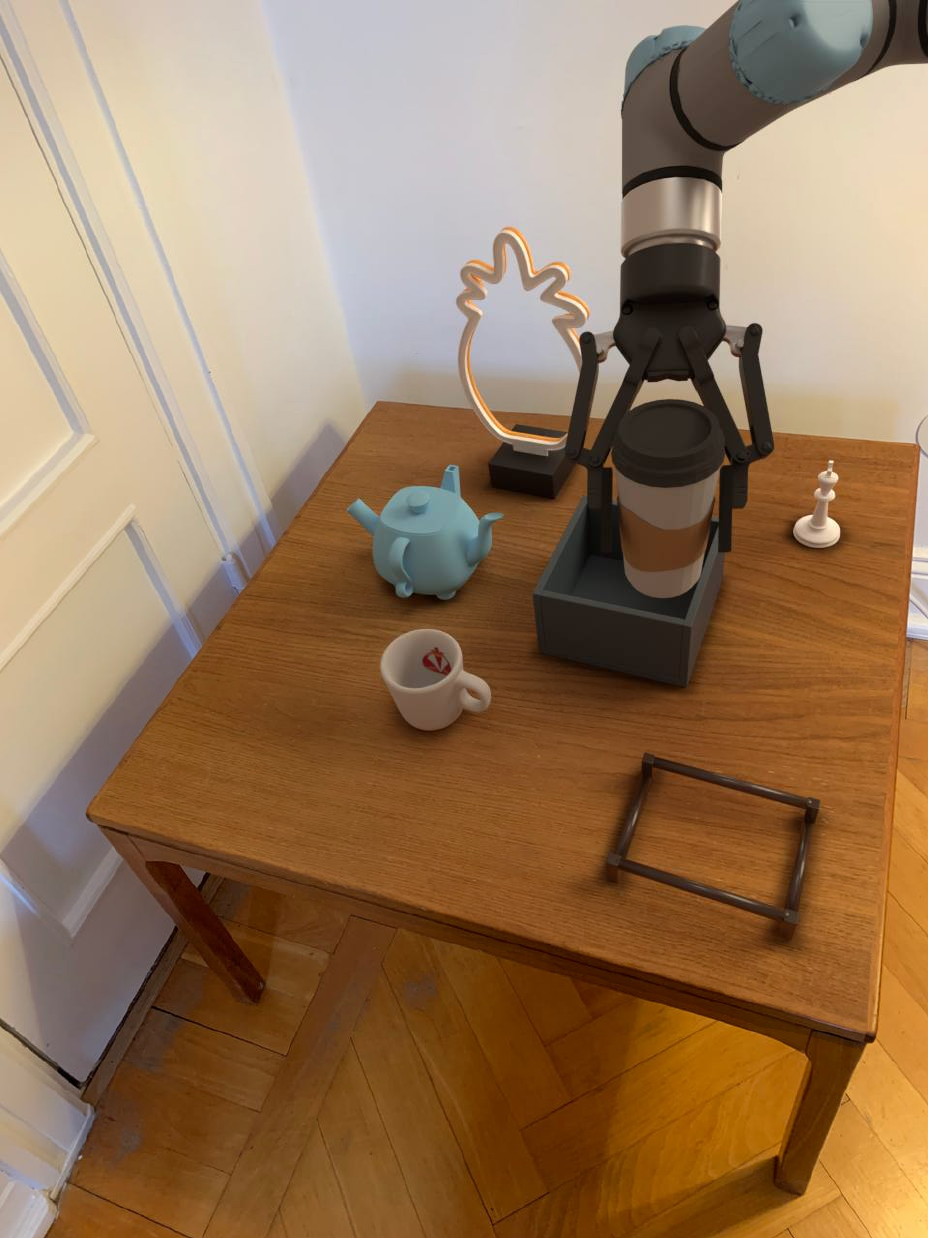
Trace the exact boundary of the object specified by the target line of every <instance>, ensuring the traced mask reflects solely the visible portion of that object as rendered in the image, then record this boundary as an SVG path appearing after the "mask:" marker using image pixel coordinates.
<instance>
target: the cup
mask: <svg viewBox="0 0 928 1238" xmlns="http://www.w3.org/2000/svg"><path fill="white" fill-rule="evenodd" d="M463 659H464V657H463V652H462V648H461V646H460V645H459V643H458V641H457V640H456V639H455V638H454V637H453V636H451V634H449V633H447V632H444V631H441V630H439V629H433V628H421V629H419V628H418V629H414V630H410V631H408V632H406V633H403V634H401V635H399V636H398V637H396V638H395V639H394V640H392V641H391V643H389V644H388V646H387V647H386V648H385V649H384V651H383V653H382V655H381V658H380V662H379V670H380V671H379V672H380V674H381V677H382V680H383V682H384V683H385V686H386V687H387V690H388V692H389V694H390V695H391V697H392V700H393V701H394V703H395V705H396V708H397V709H398V711H399V712H400V714H401V716H402V718H403V719H404V720H405V722H407V723H408V724H409V725H410V726H412V727H413V728H416V729H419V730H421V731H422V730H423V731H429V732H430V731H437V730H441V729H445V728H446V727H448V726H450V725H452V724H453V723H454V722H455V721H457V719H458V718H459V716H460V715H461V714H462V712H463V710H467V711H470V712H474V713H482V712H485V711H486V710H487V709H488V707H489V705H490V704H491V701H492V691H491V689H490V686H489V685H488V683H487V682H486V681H485V680H484V679H482V678H481V677H479V676H477V675H474V674H472V673H469V672H467V671H465V670H464V660H463ZM467 689H468V690H471V691H473V692H475V693H476V694H477V696H479V698H480V699H477V698H475V697H473V696H471V694H470V693H469V692H468V690H467Z"/></svg>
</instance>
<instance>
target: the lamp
mask: <svg viewBox="0 0 928 1238" xmlns="http://www.w3.org/2000/svg"><path fill="white" fill-rule="evenodd" d="M507 245H508V246H510V247H511V249H512V250H513V253H514V255H515V258H516V261H517V265H518V270H519V274H520V279H521V280H520V281H521V284H522V287H523V289H524V291H525V292H530V291H532V290H534V289H535V288H537V287H538V286H539V285H541V284H543V283H545V282H546V281H548V280H550V279H552V278H554V280H553V281H551V283H549V285H548V286H547V287H546V288H545V289H544V290H543V291H542V292H541V294H540V295H539V300H540V301H542V302H544V303H546V304H549V305H552V306H554V307H557V308H560V309H561V310H564V311H566V312H567V313H564V314H560V315H554V316H553V317H552V319H551V324H552V326H553V327H554V328H555V330H556V331H557V332H558V334H559V335H560V336H561V338H562V339H563V341H564V343H565V344H566V346H567V348H568V349H569V351H570V353H571V355H572V357H573V359H574V361H575V364H576V366H577V370H578V374H580V371H581V366H582V357H581V350H580V343H579V337H580V335H578V333H577V332H576V330H575V329H579V328H580V329H581V328H582V327H584V325H585V324H586V322H587V321H588V320H589V318H590V316H591V310H590V308H589V306H588V304H587V303H586V302H585V301H584V300H582V299H581V298H580V297H579V296H577V295H574V294H571V293H569V292H565V291H562V289H563V288H564V287H565V285H566V284H567V283H568V282H569V281H570V279H571V269H570V268H569V266H568V265H567V264H566V263H565V262H562V261H553V262H551V263H548V264H547V265H545V266H543V267H542V268H541V269H540V270H536V269H535V266H534V261H533V255H532V252H531V249H530V246H529V244H528V242H527V239H526V237H525V236H524V234H523V233H522V232H521V231H520V230H519V229H517V228H515V227H513V226H505V227H503V228H502V229H500V231H499V232H498V234H497V235H496V236H495V237H494V240H493V243H492V258H493V259H492V260H493V265H491V264H488V263H486V262H484V261H482V260H481V259H471V260H468V261H467V262H466V263H465V264H464V265H463V267H461V269H460V271H459V277H460V280H461V283H462V284H463V285H464V286H465V287H466V288H465V289H463V290H462V292H461V293H459V294H458V295H457V297H456V299H455V304H456V307H457V309H458V310H459V311H460V312H461V313H462V314H463V315H464V316H465V317H466V319H467V322H466V324H465V325H464V327H463V330H462V334H461V337H460V340H459V344H458V345H459V346H458V352H457V365H458V375H459V379H460V383H461V386H462V390H463V392H464V395H465V397H466V399H467V401H468V403H469V404H470V407H471V409H472V410H473V412H474V414H475V415H476V417H477V418H478V419H479V421H480V422H481V424H482V425H483V426H484V428H485V429H486V430H487V431H488V432H489V433H490V434H491V435H492V436H494V437H495V438H496V439H497V440H499V441H501V442H502V443H501V445H500V446H499V448H498V449H497V450H496V451H495V453H494V455H493V456H492V457H491V459H490V460H489V461H488V463H487V467H488V473H489V479H490V486H491V488H495V489H500V490H505V491H510V492H515V493H521V494H526V495H531V496H536V497H542V498H546V499H550V500H551V499H552V500H555V499H556V497H557V496H558V495H559V492H560V491H561V489H562V488H563V486H564V484H565V483H566V481H567V479H568V477H569V476H570V475H571V473H572V471H573V469H574V468H575V466H576V465H577V464H576V463H572V462H570V461H569V460H568V459H567V457H566V455H565V453H564V450H565V445H566V440H567V435H568V431H562V430H557V429H551V428H545V427H544V428H543V427H539V426H532V425H524V424H519V423H515V425H514V426H513V427H512V429H511V430H509V429H507V428H506V427H504V426H503V425H502V424H501V423H500V422H499V421H498V420H497V419H496V417H495V416H494V415H493V414H492V412H491V411H490V409H489V407H488V406H487V404H486V403H485V401H484V400H483V398H482V396H481V394H480V392H479V390H478V388H477V385H476V382H475V379H474V376H473V371H472V366H471V345H472V340H473V337H474V334H475V331H476V328H477V327H478V324H479V322H480V321H481V319H482V318H483V316H484V312H483V311H482V310H481V309H480V308H479V307H478V306H477V305H475V303H474V302H473V301H483V300H485V299H486V298H487V296H488V295H489V294H488V290H487V288H485V283H488V284H489V285H490V284H491V285H497V284H499V283H500V282H501V281H502V280H503V278H504V276H505V273H506V272H507V266H508V258H507V257H508V255H507ZM483 281H484V282H485V283H484V282H483Z"/></svg>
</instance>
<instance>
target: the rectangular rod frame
mask: <svg viewBox="0 0 928 1238" xmlns="http://www.w3.org/2000/svg"><path fill="white" fill-rule="evenodd" d="M656 769H657V770H661V771H664V772H668V773H672V774H674V775H679V776H683V777H686V778H690V779H693V780H696V781H697V780H698V781H701V782H703V783H707V784H712V785H715V786H719V787H722V788H725V789H730V790H733V791H736V792H737V791H738V792H741V793H744V794H748V795H751V796H754V797H759V798H762V799H766V800H769V801H773V802H776V803H780V804H784V805H788V806H791V807H795V808H798V809H802V810H804V812H803V815H802V819H801V825H800V831H799V836H798V841H797V845H796V851H795V856H794V861H793V866H792V870H791V875H790V880H789V885H788V890H787V895H786V900H785V905H784V908H781V907H778V906H774V905H772V904H768V903H766V902H763V901H759V900H756V899H753V898H749V897H746V896H743V895H740V894H737V893H734V892H731V891H728V890H724V889H722V888H719V887H716V886H712V885H710V884H706V883H703V882H701V881H700V882H699V881H697V880H693V879H691V878H688V877H684V876H681V875H678V874H675V873H672V872H669V871H665V870H663V869H659V868H655V867H653V866H650V865H647V864H644V863H641V862H637V861H634V860H631V859H628V858H627V856H628V852H629V850H630V846H631V844H632V840H633V837H634V834H635V831H636V828H637V826H638V822H639V820H640V817H641V813H642V811H643V807H644V804H645V801H646V799H647V795H648V792H649V790H650V787H651V784H652V782H653V780H654V777H655V774H656ZM640 773H641V774H640V778H639V781H638V783H637V787H636V790H635V792H634V796H633V797H632V798H633V799H632V801H631V804H630V807H629V810H628V813H627V815H626V819H625V821H624V824H623V827H622V830H621V833H620V836H619V838H618V841H617V845H616V848H615V850H614V853H613V852H611V851H610V852H609V853H608V856H607V859H606V861H605V862H606V863H605V864H606V865H605V867H606V869H605V871H606V879H607V880H608V881H612V882H615V883H619V881H620V878H621V875H622V872H625V873H628V874H631V875H634V876H637V877H640V878H644V879H647V880H649V881H652V882H656V883H659V884H663V885H666V886H668V887H671V888H674V889H677V890H680V891H684V892H687V893H690V894H693V895H696V896H699V897H702V898H705V899H708V900H711V901H714V902H718V903H720V904H724V905H727V906H729V907H732V908H736V909H738V910H741V911H744V912H748V913H750V914H754V915H757V916H760V917H763V918H765V919H770V920H773V921H774V922H775V921H776V922H778V923H781V924H780V928H779V933H778V937H780V938H784V939H787V940H789V941H793V938H794V936H795V933H796V930H797V927H798V924H799V918H800V912H799V909H800V904H801V903H800V902H801V898H802V893H803V889H804V883H805V877H806V873H807V867H808V862H809V858H810V857H809V856H810V853H811V852H810V851H811V847H812V841H813V836H814V831H815V830H814V829H815V825H816V822H817V820H818V819H817V818H818V816H819V812H820V808H821V803H822V800H821V799H818V798H815V797H811V796H808V797H806V796H803V795H799V794H795V793H792V792H788V791H784V790H780V789H778V788H773V787H769V786H765V785H762V784H758V783H755V782H751V781H748V780H744V779H740V778H736V777H733V776H729V775H726V774H722V773H718V772H714V771H712V770H711V771H710V770H707V769H704V768H700V767H696V766H693V765H688V764H685V763H681V762H678V761H674V760H671V759H667V758H663V757H660V756H656V754H653V753H650V752H646V751H645V752H644V753H643V756H642V759H641V772H640Z"/></svg>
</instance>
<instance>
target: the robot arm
mask: <svg viewBox="0 0 928 1238" xmlns="http://www.w3.org/2000/svg"><path fill="white" fill-rule="evenodd" d="M902 65H904V66H905V65H928V0H736V1H735V3H734V4H732V5H731V6H730V7H729V8H728V9H727V10H726V11H725V12H724V13H722V14H721V15H720V16H719V17H718V18H717V19H716V20H714V22H713V23H711V24H710V25H709V26H708V27H707V28H706V27H702V26H698V25H688V24H683V25H674V26H668V27H666V28H663V29H662V30H661V32H660V33H659V34H652V35H647V36H646V37H645V38H643V39H642V40H640V41H639V43H637V45H636V46H635V47H634V48H633V49H632V51H631V52H630V54H629V56H628V59H627V61H626V64H625V70H624V73H625V74H624V86H623V87H624V88H623V94H622V100H621V106H620V107H621V108H620V117H621V195H622V196H621V197H622V199H621V202H620V205H621V207H620V254H621V256H622V257H623V259H624V260H623V261H622V263H621V265H620V268H619V269H620V275H619V276H620V278H619V279H620V280H619V316H618V319H617V322H616V323H615V326H614V327H613V330H609V331H605V332H600V333H599V332H598V333H595V334H594V333H593V332H591V331H588V330H587V331H584V332H581V334H580V335H579V343H580V350H581V357H582V366H581V371H580V373H579V377H578V382H577V385H576V392H575V396H574V400H573V405H572V411H571V416H570V421H569V426H568V431H567V432H568V435H567V440H566V445H565V450H564V453H565V455H566V457H567V459H568V460H569V461H570V462H572V463H576V464H575V465H580V466H582V467H584V468H585V469H586V471H587V473H586V474H587V475H586V476H587V477H586V495H587V504H588V506H589V509H590V510H601V552H612V500H613V497H614V495H613V494H614V493H613V492H614V491H613V488H614V486H613V485H614V470H613V467H612V466H609V467H608V466H606V467H605V464H606V462H607V459H608V458H609V455H610V454H611V451H612V448H613V444H612V442H613V438H614V435H615V432H616V430H617V429H618V427H619V423H620V420H621V419H622V418H623V417H624V415H625V414H626V413H627V412H629V411H630V410H632V406H633V404H634V403H635V400H636V398H637V396H638V394H639V393H640V391H641V390H642V386H643V384H644V382H645V381H646V382H647V383H660V382H663V381H665V380H670V381H674V382H689V379H690V381H691V384H692V386H693V389H694V390H695V391H696V393H697V394H698V396H699V399H700V401H701V403H702V406H705V407H706V408H708V409H709V410H710V411H712V412H713V413H714V414H715V416H716V417H717V418H718V420H719V424H720V428H721V429H722V431H723V434H724V438H725V444H724V448H725V457H726V458H727V461H728V462H729V464H723V465H721V466H720V470H719V478H718V481H719V483H718V484H719V485H718V517H719V526H718V553H725V554H726V553H732V545H733V544H732V543H733V541H732V538H733V537H732V536H733V510H743V509H744V508H746V505H747V503H748V497H749V496H748V494H749V493H748V492H749V491H748V490H749V467H750V465H751V464H753V463H755V462H759V461H760V460H765V459H766V458H768V457H769V456H770V455H771V454H772V453H773V452H774V450H775V439H774V435H773V429H772V423H771V418H770V413H769V407H768V401H767V395H766V389H765V384H764V379H763V374H762V373H763V372H762V367H761V362H760V356H759V354H760V349H761V343H762V338H763V333H764V330H763V326H762V325H761V324H760V323H757V322H752V323H750V324H749V325H748V326H741V325H732V324H731V325H730V324H726V321H725V319H724V317H723V316H722V315H723V314H722V313H721V307H720V305H721V302H720V301H721V263H722V261H721V256H720V255H719V254H718V253H717V252H718V251H719V250H720V248H721V245H722V219H723V218H722V217H723V216H722V215H723V214H722V213H723V211H722V210H723V195H722V194H723V179H722V177H723V166H724V165H723V164H724V157H725V155H726V153H727V152H730V151H731V150H733V149H735V148H736V147H738V146H739V145H740V144H742V143H744V142H745V141H747V139H749V138H751V137H752V136H753V135H755V134H757V133H758V132H760V131H761V130H763V129H765V128H767V127H768V126H769V125H771V124H773V123H774V122H775V121H776V122H777V120H779V119H780V118H782V117H784V116H785V115H787V114H789V113H791V112H793V111H794V110H797V109H798V108H801V107H803V106H805V105H807V104H809V103H811V102H814V101H815V100H818V99H820V98H823V97H825V96H826V95H828V94H830V93H833V92H834V91H837V90H839V89H841V88H843V87H845V86H847V85H849V84H851V83H854V82H856V81H858V80H859V81H860V80H862V79H863V78H866V77H868V76H871V75H872V74H874V73H876V72H878V71H880V70H882V69H885V68H889V67H894V66H902ZM723 342H725V343H726V344H728V346H729V351H730V354H731V355H732V356H733V357H735V358H738V373H739V378H740V385H741V389H742V395H743V400H744V407H745V412H746V418H747V423H748V428H749V434H750V439H751V444H749V445H746V444H745V442H744V439H743V437H742V435H741V433H740V431H739V429H738V426H737V424H736V422H735V420H734V418H733V416H732V413H731V411H730V409H729V407H728V404H727V402H726V401H725V398H724V396H723V393H722V392H721V388H720V387H719V385H718V383H717V380H716V378H715V374H714V372H713V368H712V366H711V364H710V362H709V360H710V358H711V357H712V356H713V354H714V353H715V352H716V350H717V349H718V348H719V346H720V345H721V343H723ZM614 347H615V348H616V349H617V350H618V351H619V353H620V354H621V356H622V357H623V358H624V360H625V361H626V362H627V364H628V365H629V366H628V368H627V369H626V372H625V374H624V377H623V380H622V382H621V385H620V386H619V389H618V391H617V393H616V395H615V397H614V400H613V402H612V404H611V406H610V408H609V410H608V413H607V414H606V417H605V419H604V421H603V423H602V425H601V427H600V430H599V432H598V434H597V436H596V438H595V440H594V443H592V446H591V449H590V448H589V449H588V448H586V447H585V443H586V438H587V433H588V428H589V423H590V419H591V414H592V408H593V403H594V400H595V399H594V398H595V393H596V389H597V385H598V384H597V383H598V379H599V372H600V364H602V363H604V362H605V361H607V360H608V358H609V357H608V356H609V351H610V350H611V349H612V348H614Z"/></svg>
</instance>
